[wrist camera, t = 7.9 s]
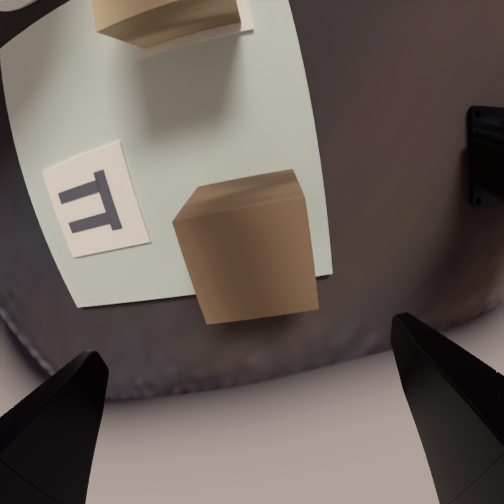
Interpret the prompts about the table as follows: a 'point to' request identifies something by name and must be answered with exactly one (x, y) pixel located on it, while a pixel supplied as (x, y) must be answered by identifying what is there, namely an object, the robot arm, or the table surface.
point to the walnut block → (249, 248)
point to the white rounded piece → (14, 4)
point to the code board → (153, 139)
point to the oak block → (160, 18)
